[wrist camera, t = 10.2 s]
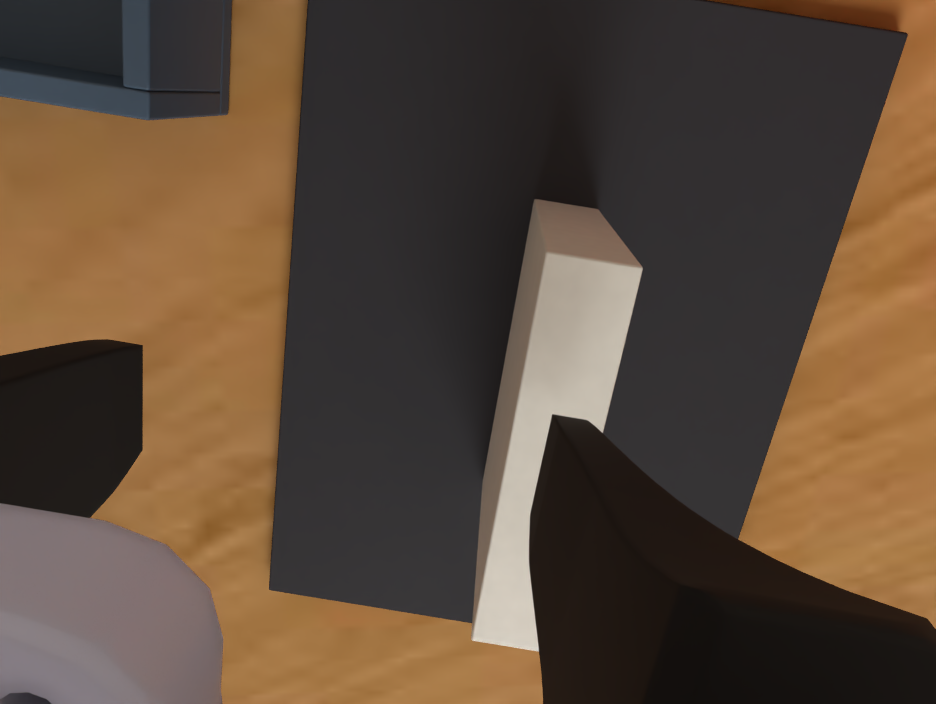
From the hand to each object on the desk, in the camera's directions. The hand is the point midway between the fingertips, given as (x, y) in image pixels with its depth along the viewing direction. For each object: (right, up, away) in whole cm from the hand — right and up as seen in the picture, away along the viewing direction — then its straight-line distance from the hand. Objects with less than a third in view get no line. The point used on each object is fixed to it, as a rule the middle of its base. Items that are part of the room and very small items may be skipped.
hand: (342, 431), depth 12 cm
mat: (+4, +1, +9) cm, 10 cm away
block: (+4, +1, +9) cm, 10 cm away
